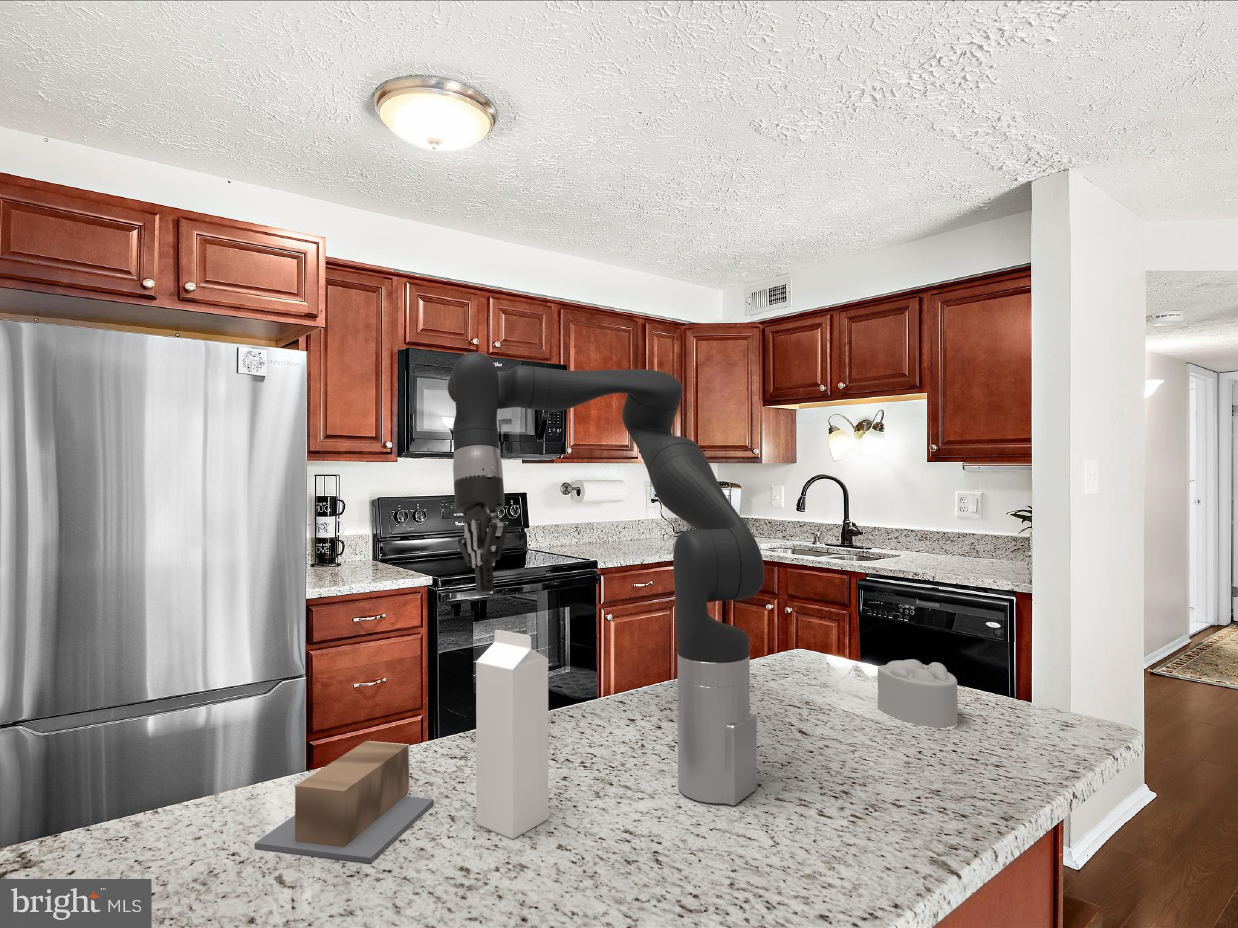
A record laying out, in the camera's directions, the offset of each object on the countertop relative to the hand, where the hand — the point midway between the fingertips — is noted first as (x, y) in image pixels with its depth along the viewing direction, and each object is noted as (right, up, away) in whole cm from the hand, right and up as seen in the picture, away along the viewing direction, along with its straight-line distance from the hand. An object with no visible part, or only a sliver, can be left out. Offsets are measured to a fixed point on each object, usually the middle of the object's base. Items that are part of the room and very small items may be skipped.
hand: (485, 592), depth 108 cm
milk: (+7, -23, -23) cm, 33 cm away
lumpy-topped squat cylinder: (+70, -23, +13) cm, 75 cm away
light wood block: (-9, -19, -16) cm, 27 cm away
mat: (-11, -23, -24) cm, 35 cm away
